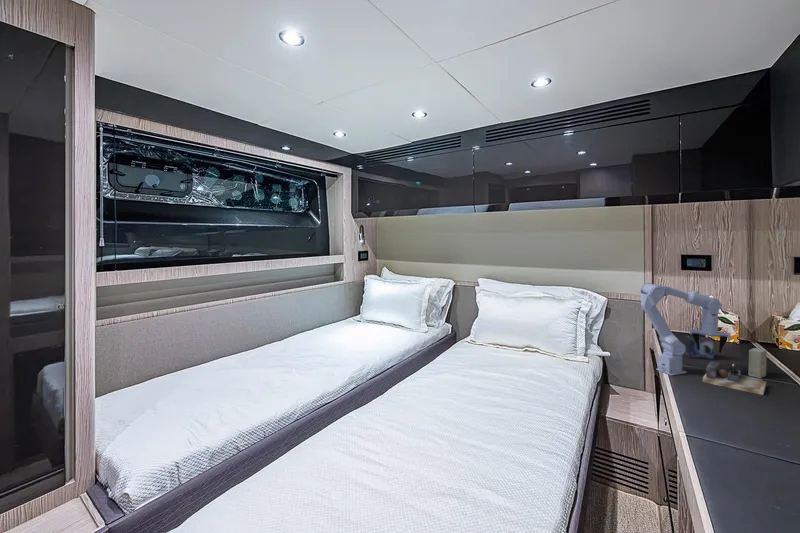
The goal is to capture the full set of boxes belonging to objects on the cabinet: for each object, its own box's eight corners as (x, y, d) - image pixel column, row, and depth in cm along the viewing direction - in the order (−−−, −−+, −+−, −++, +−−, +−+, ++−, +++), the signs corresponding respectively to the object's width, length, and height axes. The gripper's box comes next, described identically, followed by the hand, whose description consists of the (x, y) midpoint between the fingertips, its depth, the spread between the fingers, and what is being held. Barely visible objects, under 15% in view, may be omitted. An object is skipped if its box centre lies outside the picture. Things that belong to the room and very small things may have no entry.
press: (702, 381, 160) (703, 366, 159) (708, 374, 167) (708, 359, 167) (763, 395, 145) (763, 378, 144) (766, 386, 153) (766, 370, 152)
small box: (689, 358, 188) (690, 339, 187) (684, 354, 194) (685, 335, 193) (714, 360, 184) (715, 340, 183) (708, 356, 190) (709, 336, 189)
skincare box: (760, 378, 160) (761, 352, 159) (747, 375, 164) (748, 349, 163) (766, 375, 163) (767, 349, 162) (753, 372, 167) (754, 347, 166)
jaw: (727, 381, 154) (728, 365, 154) (731, 375, 160) (731, 359, 159) (737, 383, 152) (737, 367, 151) (740, 376, 158) (741, 361, 157)
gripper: (689, 322, 169) (689, 350, 171) (731, 326, 160) (730, 355, 161) (690, 319, 175) (689, 346, 176) (730, 322, 166) (729, 351, 167)
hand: (709, 350), depth 169 cm, fingers open, 7 cm apart
